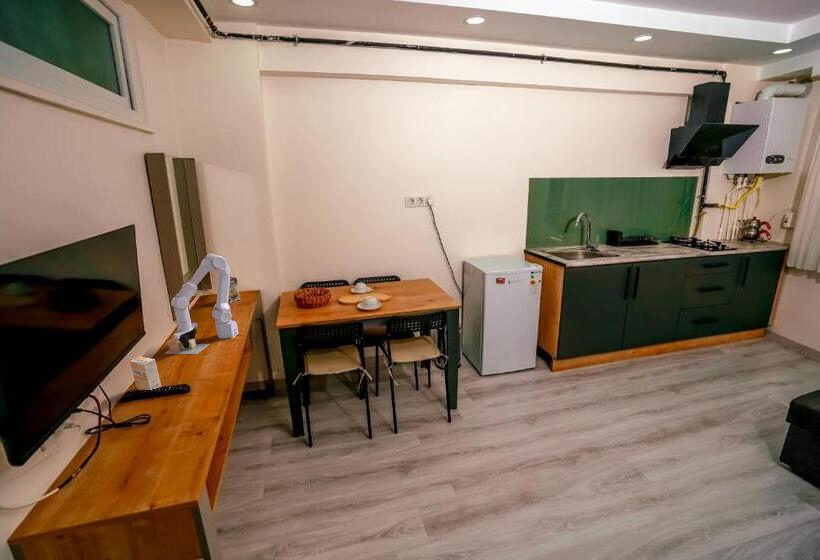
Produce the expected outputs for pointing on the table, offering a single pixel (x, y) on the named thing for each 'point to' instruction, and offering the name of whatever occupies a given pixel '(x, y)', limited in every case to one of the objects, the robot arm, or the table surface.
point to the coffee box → (233, 290)
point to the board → (189, 350)
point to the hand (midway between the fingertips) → (189, 345)
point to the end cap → (173, 345)
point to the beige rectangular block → (191, 344)
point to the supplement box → (145, 373)
